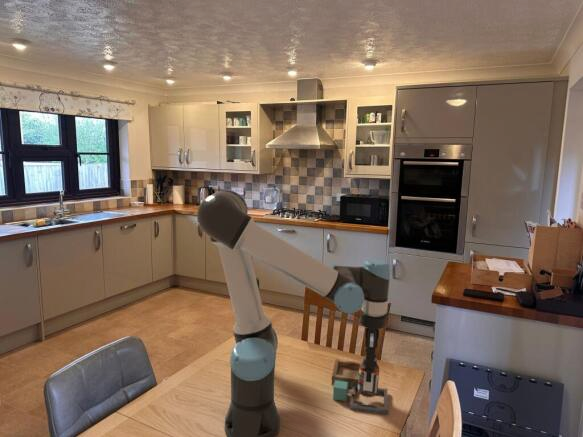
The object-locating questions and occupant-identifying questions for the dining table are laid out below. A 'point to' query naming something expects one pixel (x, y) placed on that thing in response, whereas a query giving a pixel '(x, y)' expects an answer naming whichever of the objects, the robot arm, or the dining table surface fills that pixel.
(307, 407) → the dining table surface
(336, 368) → the open box
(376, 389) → the supplement bottle
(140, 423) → the dining table surface
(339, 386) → the pin
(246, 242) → the robot arm
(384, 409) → the socket collar
